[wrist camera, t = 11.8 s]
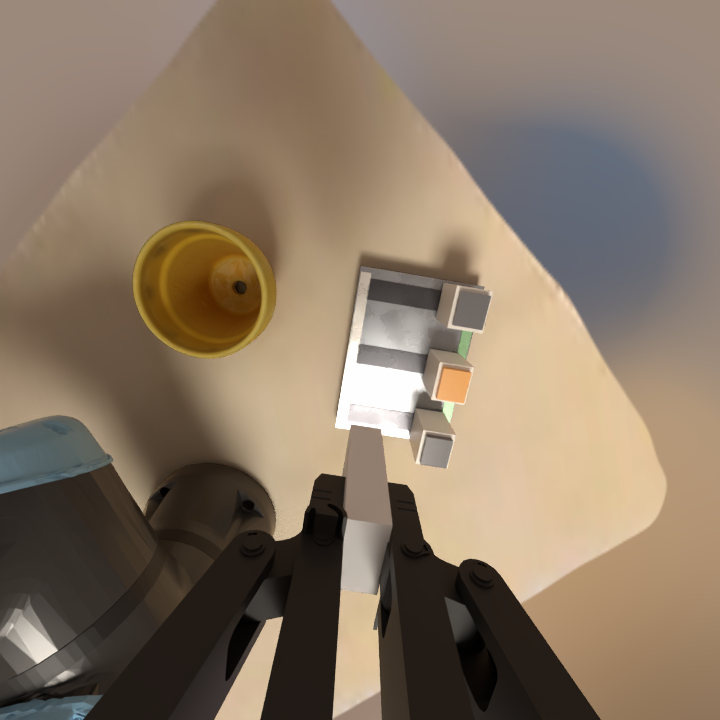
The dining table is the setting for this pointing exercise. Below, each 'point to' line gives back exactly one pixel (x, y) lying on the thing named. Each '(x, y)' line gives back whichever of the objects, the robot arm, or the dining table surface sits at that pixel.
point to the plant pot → (203, 288)
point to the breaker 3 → (431, 438)
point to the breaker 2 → (447, 376)
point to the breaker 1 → (463, 307)
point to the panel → (394, 351)
